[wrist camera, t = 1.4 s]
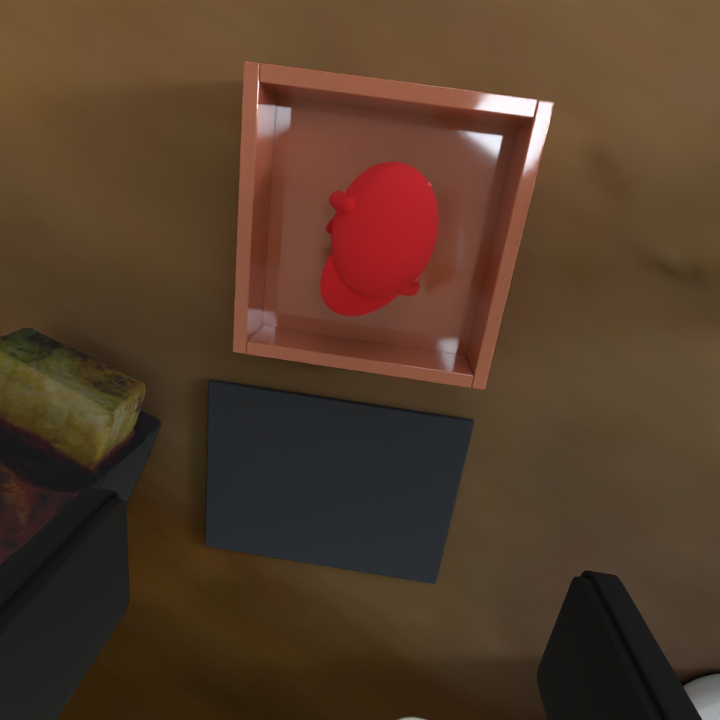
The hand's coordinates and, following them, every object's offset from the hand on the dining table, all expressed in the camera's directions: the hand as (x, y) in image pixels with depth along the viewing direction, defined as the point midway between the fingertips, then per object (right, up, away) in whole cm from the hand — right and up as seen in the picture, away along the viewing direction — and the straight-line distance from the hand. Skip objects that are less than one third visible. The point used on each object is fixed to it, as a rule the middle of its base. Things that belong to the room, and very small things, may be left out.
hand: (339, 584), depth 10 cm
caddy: (+2, +12, +18) cm, 22 cm away
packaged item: (-25, -10, +28) cm, 39 cm away
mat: (-2, -4, +24) cm, 25 cm away
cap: (+1, +12, +18) cm, 22 cm away
